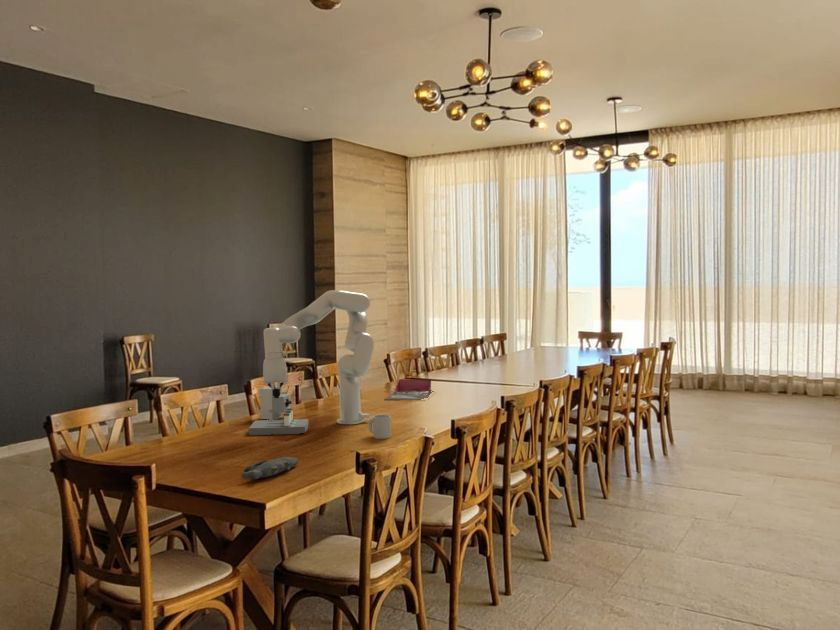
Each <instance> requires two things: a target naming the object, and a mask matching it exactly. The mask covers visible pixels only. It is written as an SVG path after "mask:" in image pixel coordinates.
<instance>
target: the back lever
mask: <svg viewBox="0 0 840 630" xmlns="http://www.w3.org/2000/svg"><path fill="white" fill-rule="evenodd" d="M293 408H294V407H290V408H287V410H291V420H294V419H293V414H294V413H293V411H294V409H293Z"/></svg>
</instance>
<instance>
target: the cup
mask: <svg viewBox="0 0 840 630" xmlns="http://www.w3.org/2000/svg"><path fill="white" fill-rule="evenodd" d="M391 426H392V425H391V415H389V414H376V415H375V414H374V415H373V416H372V417H370V418H369V421H368V430H369V432H370V433H371V434H372V435H373V438H374V439H375V440H386V439H390V438H391V434H392V431H391V430H392V429H391Z"/></svg>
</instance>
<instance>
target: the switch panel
mask: <svg viewBox="0 0 840 630" xmlns="http://www.w3.org/2000/svg"><path fill="white" fill-rule="evenodd" d="M308 425H309V418H303V419H293V420H291V423H290V425H289V426H284V419H276V420H262V419H261V420H260V419H258V420H254V422H253V423H251V425H250V426H249V427H248V436H258V435H259V436H264V435H267V436H268V435H271V434H273V435H301V434H300V433H305V432H307V430H308V428H309V426H308ZM305 434H306V433H305Z"/></svg>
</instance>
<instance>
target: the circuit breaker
mask: <svg viewBox="0 0 840 630" xmlns="http://www.w3.org/2000/svg"><path fill="white" fill-rule="evenodd" d="M275 387H276V389H277V385H275ZM258 397H259V398H260V406H261V407H260V409H259V420H260V419H261V420H262V419H267V420H268V419H269V420H279V419H281V418H282V417H283V414H282V413H285V411H286V410H287V408H291V404H292V401H291V394H290V393H282V387H281V388H280V396H279V398H274V396H273V389H272V388H271V387H269V386H267V385H264V386H263V387H262V386H261V387H260V388H259V392H258ZM276 417H277V418H276ZM280 417H281V418H280Z"/></svg>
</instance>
